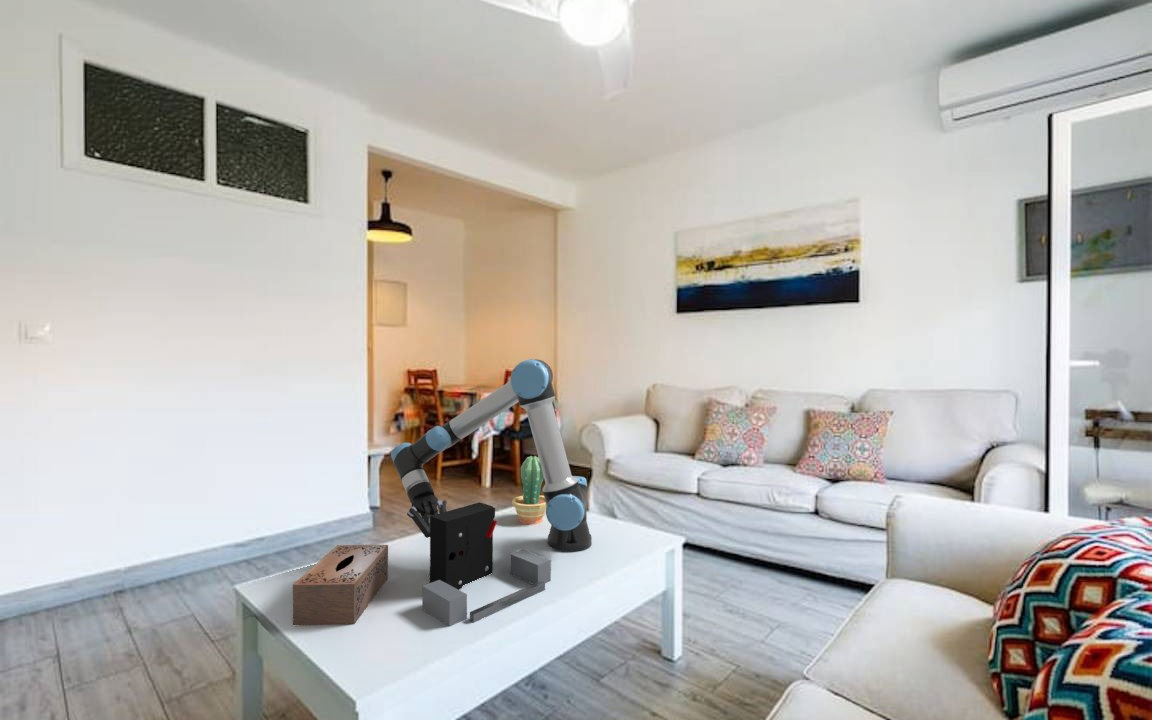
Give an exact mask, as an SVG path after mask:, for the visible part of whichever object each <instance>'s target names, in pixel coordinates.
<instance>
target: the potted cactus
mask: <svg viewBox="0 0 1152 720" xmlns="http://www.w3.org/2000/svg"><path fill="white" fill-rule="evenodd" d="M520 479H521V483H522V487H523V489H522V491H523V492H522V495H520V496H515V497H514V498H513V499H511V503H512V506H513V507H514V509H515V512H516V514H517V516H518V517H519V522H520V523H521V524H525V525H537V524H540V523H542V522H543V517H544V516H546V506H547V505H546V502H545V498H544V495H540V494H541V489H542V484H543V482H544V480H545V479H544V475H543V472H542V468H541V464H540V460H539V457H538V456H536V455H534V456H532V455H530V456H527V457H526V458H525V460H524V461H523V462H522V464H521V466H520Z"/></svg>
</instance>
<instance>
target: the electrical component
mask: <svg viewBox="0 0 1152 720" xmlns="http://www.w3.org/2000/svg"><path fill="white" fill-rule="evenodd" d="M495 517H496V507H494V506H493V505H490V504H488V503H487V504H486V503H483V502H476V503H472V504H469V505H464V506H463V507H462V506H461V507H458V508H454V509H450V510H448V511H447V512H443V513H438V514H436V515H432V516H430V518H429V523H430V537H429V575H428V580H429V583H432V582H435V581H437V580H441V581H443V582H445V583H447V584H449V585H450V586H452V587H454V588H456V589H458V590H459V589H460V590H461V589H462V588H463V587H464V586H466V585H465V584H467V585H469V584H471V583H473V582H472V581H474V582H475V580H476V581H478V580H480V579H479V578H481V579H482V577H483V578H485V577H488V576H489V574H490V575H492V574H493V572H494V570H493V569H494V567H493V564H494V560H493V559H494V557H493V555H494V554H493V553H494V546H493V545H494V530H495V528H496V526H497V524H498V521H496V520H494V519H495ZM491 573H492V574H491ZM487 575H488V576H487ZM484 576H485V577H484ZM477 579H478V580H477ZM470 582H471V583H470ZM429 583H428V584H429ZM468 583H469V584H468ZM463 585H464V586H463Z"/></svg>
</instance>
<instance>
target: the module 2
mask: <svg viewBox="0 0 1152 720" xmlns="http://www.w3.org/2000/svg"><path fill="white" fill-rule="evenodd" d="M551 566H552V560H551V559H549V558H547V557H544V556H541V555H539V554H536V553H533V552H531V551H528V550H526V549H523V548H522V549H520V550H517V551H514V552H512V553H510V554H509V574H510V575H511V576H512V577H513V576H514V577H515V578H518V579H520V580H522V581H524V582H527V583H529V584H531V585H533V584H535V583H537V582H539V581H543V582H545V584H547V583H549V582H551V581H552V580H551V579H552V575H551V574H552V569H551V568H552V567H551Z"/></svg>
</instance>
